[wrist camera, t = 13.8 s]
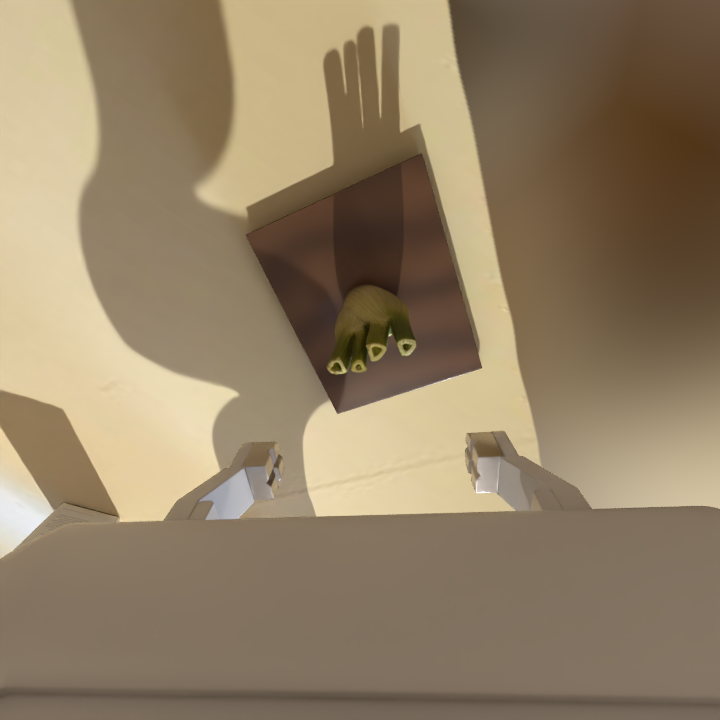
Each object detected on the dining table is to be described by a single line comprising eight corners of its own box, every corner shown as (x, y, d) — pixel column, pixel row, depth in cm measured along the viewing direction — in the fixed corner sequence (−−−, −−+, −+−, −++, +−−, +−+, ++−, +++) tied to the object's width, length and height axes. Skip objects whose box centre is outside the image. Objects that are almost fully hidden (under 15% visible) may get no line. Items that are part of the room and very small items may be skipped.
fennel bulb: (406, 286, 30) (423, 333, 19) (396, 335, 32) (406, 403, 21) (343, 276, 30) (324, 318, 19) (337, 327, 32) (317, 390, 21)
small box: (64, 529, 50) (-32, 630, 38) (63, 501, 47) (-42, 600, 35) (119, 543, 50) (41, 647, 39) (121, 516, 48) (37, 619, 36)
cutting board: (478, 362, 35) (482, 368, 33) (338, 406, 38) (337, 414, 36) (419, 155, 27) (422, 152, 26) (250, 233, 30) (245, 235, 29)
